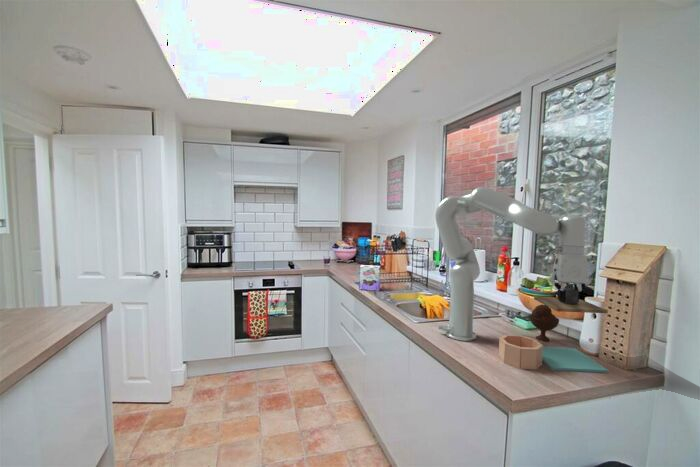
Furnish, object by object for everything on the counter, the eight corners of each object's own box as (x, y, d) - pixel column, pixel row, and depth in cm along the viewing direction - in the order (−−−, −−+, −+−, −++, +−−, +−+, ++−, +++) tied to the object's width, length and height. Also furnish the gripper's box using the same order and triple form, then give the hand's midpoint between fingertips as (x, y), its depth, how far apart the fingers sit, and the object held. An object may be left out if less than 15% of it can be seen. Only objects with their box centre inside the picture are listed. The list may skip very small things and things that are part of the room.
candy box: (358, 290, 218) (359, 265, 217) (359, 288, 224) (360, 264, 223) (379, 291, 216) (379, 266, 215) (379, 289, 222) (380, 265, 221)
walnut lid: (557, 311, 109) (558, 293, 109) (534, 299, 125) (534, 283, 125) (607, 313, 108) (608, 295, 108) (577, 300, 124) (578, 285, 124)
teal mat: (551, 369, 110) (552, 367, 110) (526, 347, 128) (527, 345, 127) (608, 372, 108) (608, 370, 108) (574, 350, 126) (574, 348, 126)
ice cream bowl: (562, 345, 130) (565, 309, 129) (532, 342, 133) (534, 306, 132) (552, 336, 141) (554, 302, 140) (524, 333, 143) (526, 300, 142)
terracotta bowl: (508, 368, 110) (509, 347, 110) (494, 352, 123) (495, 334, 123) (547, 370, 109) (548, 349, 109) (529, 353, 122) (530, 335, 122)
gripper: (552, 251, 112) (549, 303, 113) (603, 252, 111) (599, 305, 112) (541, 249, 120) (538, 297, 121) (588, 250, 119) (585, 299, 120)
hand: (568, 300), depth 117 cm, fingers closed on walnut lid, 4 cm apart
